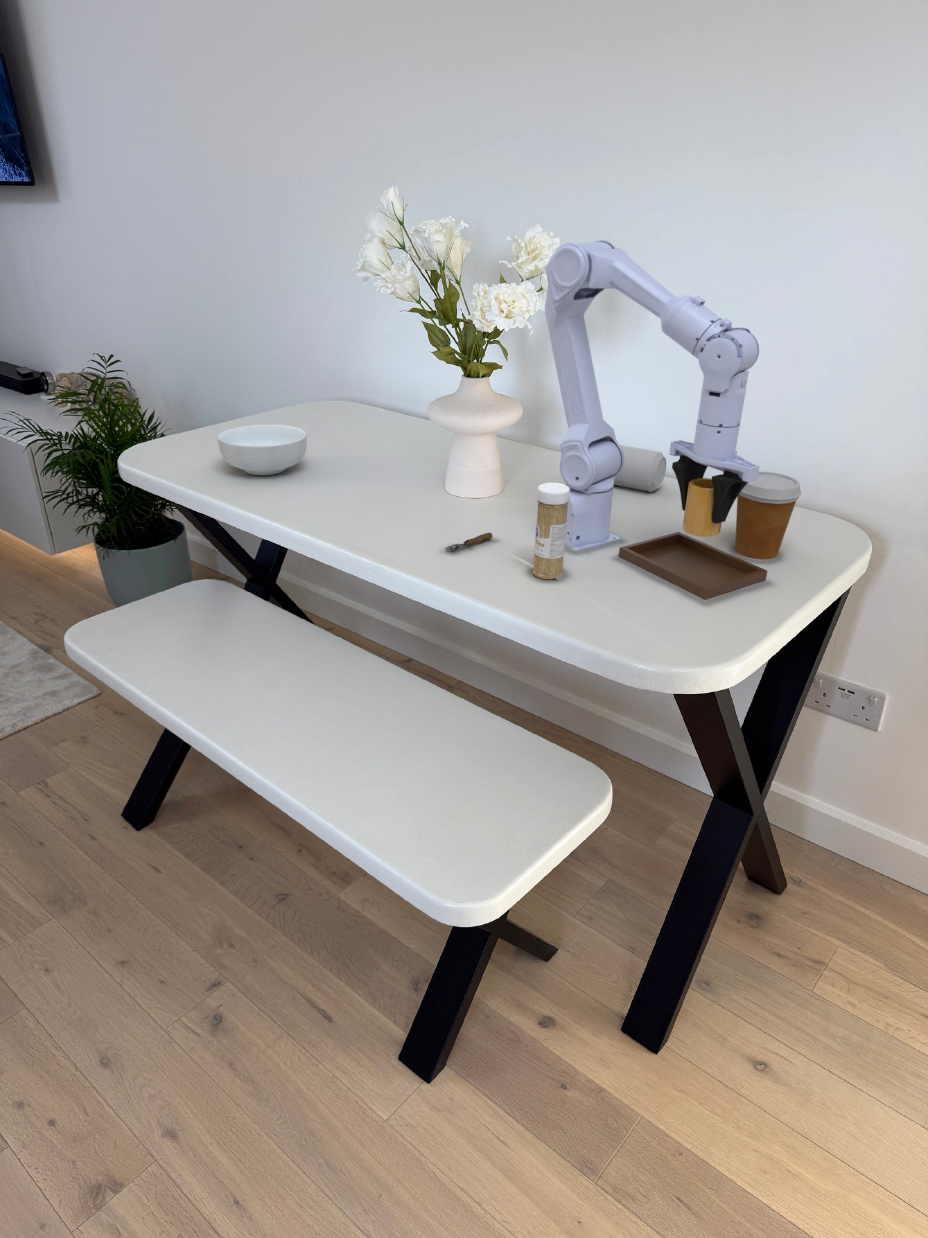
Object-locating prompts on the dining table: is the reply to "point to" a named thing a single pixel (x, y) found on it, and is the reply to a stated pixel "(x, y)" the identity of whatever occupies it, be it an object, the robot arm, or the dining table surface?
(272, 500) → the dining table surface
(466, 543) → the can opener
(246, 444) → the cereal bowl
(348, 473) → the dining table surface
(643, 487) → the can
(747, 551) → the disposable coffee cup
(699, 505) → the cup
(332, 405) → the dining table surface
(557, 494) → the sprinkles bottle
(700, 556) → the tray
